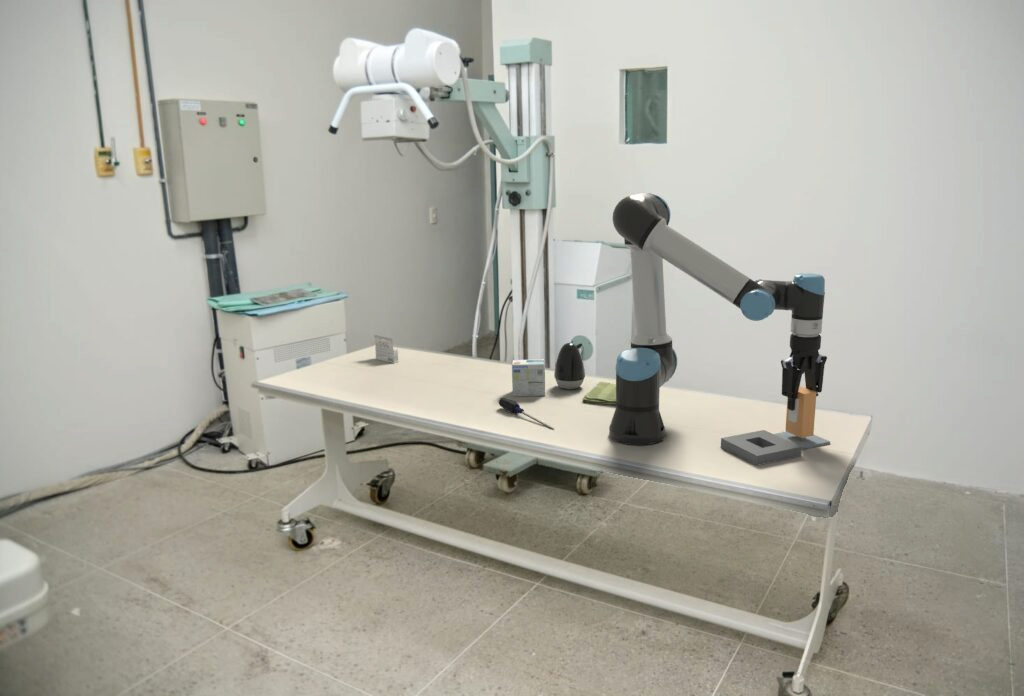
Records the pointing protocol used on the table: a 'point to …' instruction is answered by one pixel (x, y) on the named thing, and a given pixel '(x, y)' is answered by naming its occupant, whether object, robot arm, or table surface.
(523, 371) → the light bulb box
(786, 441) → the gray slotted square plate
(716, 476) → the table surface
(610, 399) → the washcloth
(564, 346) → the pump dispenser
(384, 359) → the ink cartridge box
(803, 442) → the rubber mat
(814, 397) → the plug
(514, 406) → the screwdriver
